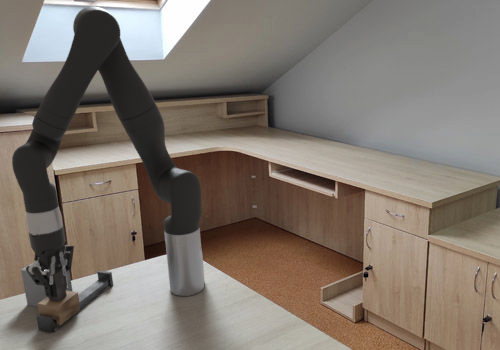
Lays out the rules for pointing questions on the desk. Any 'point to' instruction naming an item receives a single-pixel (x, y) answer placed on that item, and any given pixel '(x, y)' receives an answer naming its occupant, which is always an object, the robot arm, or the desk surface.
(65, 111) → the robot arm
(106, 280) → the rail
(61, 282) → the carriage
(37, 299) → the button housing
